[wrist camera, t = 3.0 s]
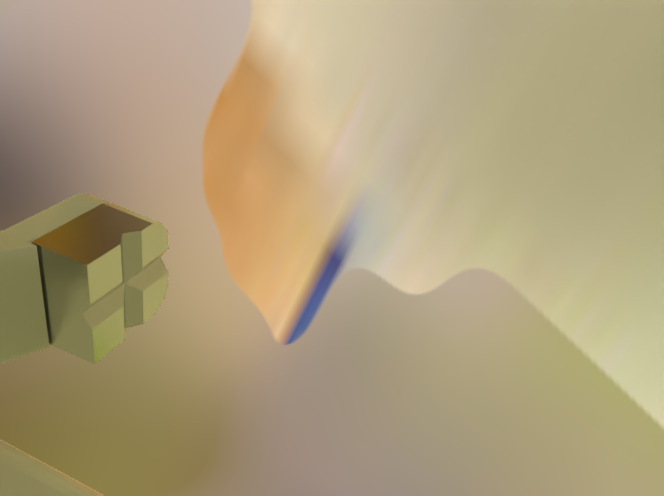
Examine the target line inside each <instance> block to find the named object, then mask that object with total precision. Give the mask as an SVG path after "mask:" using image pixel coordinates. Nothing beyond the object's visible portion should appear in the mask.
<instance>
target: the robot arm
mask: <svg viewBox="0 0 664 496" xmlns="http://www.w3.org/2000/svg"><path fill="white" fill-rule="evenodd" d="M167 249H168V230H167V229H166V228H165V227H164V226H163V225H162V224H161V223H159V222H157V221H154V220H152V219H149V218H147V217H145V216H142V215H140V214H137V213H135V212H132V211H130V210H127V209H125V208H122V207H120V206H118V205H115V204H111V203H109V202H107V201H104V200H102V199H99V198H97V197H94V196H92V195H89V194H76V195H74V196H72V197H70V198H68V199H66V200H64V201H62V202H60V203H58V204H56V205H54V206H52V207H50V208H48V209H46V210H44V211H42V212H40V213H38V214H36V215H34V216H32V217H30V218H28V219H26V220H24V221H22V222H20V223H18V224H16V225H14V226H12V227H10V228H8V229H6V230H4V231H1V230H0V364H2V363H5V362H8V361H11V360H13V359H16V358H19V357H22V356H25V355H28V354H31V353H34V352H37V351H40V350H43V349H46V348H49V344H50V345H52V346H55V347H57V348H59V349H61V350H64V351H66V352H68V353H71V354H73V355H76V356H78V357H80V358H82V359H85V360H87V361H89V362H91V363H94V364H95V363H97V362H98V361H99V360H100V359H101V358H103V357H104V356H105V355H106V354H108V353H109V352H110V351H111V350H113V349H114V348H115V347H116V346H117V345H119V344H120V343H121V342H122V341H123V340H124V339H125V332H126V328H129V327H133V326H136V325H140V324H144V323H145V322H146V321H147V320H149V319H150V318H151V317H152V316H153V315H154V314H155V313H156V312H157V310H158V308H159V307H160V305H161V303H162V302H163V300H164V299H165V295H166V291H167V287H168V270H167V268H166V266H165V264H164V263H163V261H162V259H161V256H162V255H163V253H164V252H166V251H167ZM0 496H104V495H103V494H101V493H99V492H97V491H95V490H93V489H92V488H90V487H88V486H86V485H84V484H82V483H80V482H79V481H77V480H75V479H73V478H71V477H69V476H67V475H66V474H63V473H62V472H60V471H58V470H56V469H54V468H53V467H51V466H49V465H47V464H45V463H43V462H41V461H40V460H38V459H36V458H34V457H32V456H30V455H28V454H27V453H25V452H23V451H21V450H19V449H17V448H16V447H13V446H12V445H10V444H8V443H6V442H4V441H3V440H1V439H0Z"/></svg>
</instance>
